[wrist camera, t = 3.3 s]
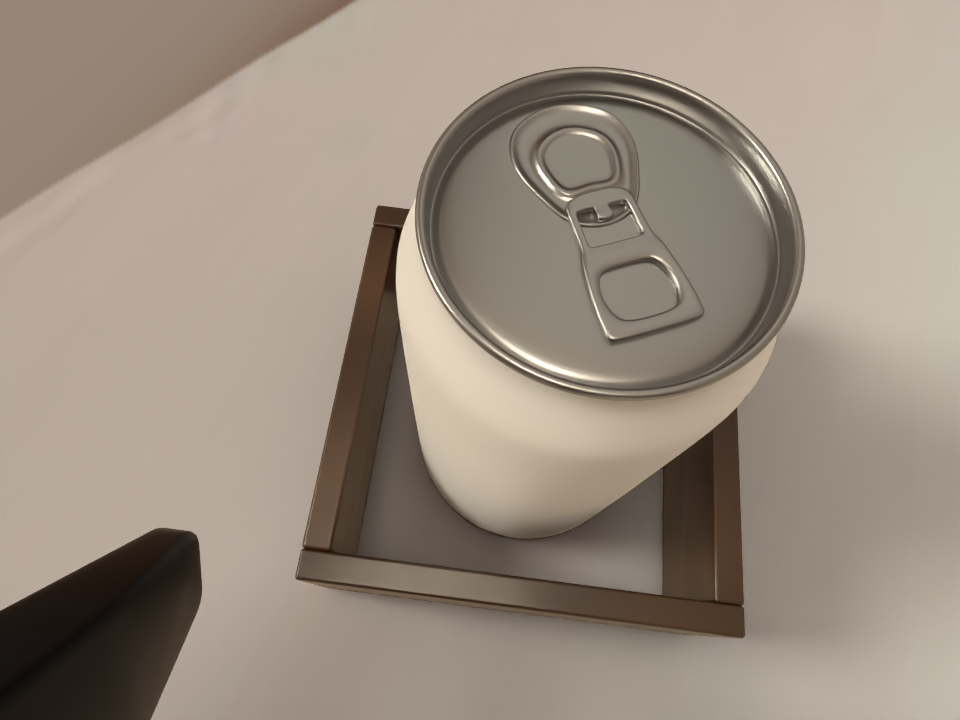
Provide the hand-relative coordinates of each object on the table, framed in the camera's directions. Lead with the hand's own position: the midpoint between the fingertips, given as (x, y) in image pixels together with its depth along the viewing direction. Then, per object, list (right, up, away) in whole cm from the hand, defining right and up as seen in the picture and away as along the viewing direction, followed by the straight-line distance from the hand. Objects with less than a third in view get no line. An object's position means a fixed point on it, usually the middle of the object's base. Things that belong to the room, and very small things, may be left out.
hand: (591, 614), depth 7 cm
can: (0, 0, +13) cm, 13 cm away
